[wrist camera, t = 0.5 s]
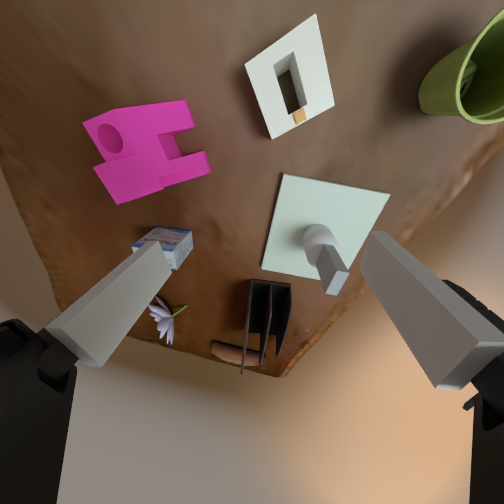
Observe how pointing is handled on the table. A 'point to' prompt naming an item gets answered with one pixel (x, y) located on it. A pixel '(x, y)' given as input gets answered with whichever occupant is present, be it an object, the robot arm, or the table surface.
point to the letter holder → (267, 314)
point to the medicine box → (169, 244)
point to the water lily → (164, 319)
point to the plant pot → (469, 79)
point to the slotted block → (303, 76)
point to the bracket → (144, 149)
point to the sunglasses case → (236, 354)
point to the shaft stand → (320, 228)
